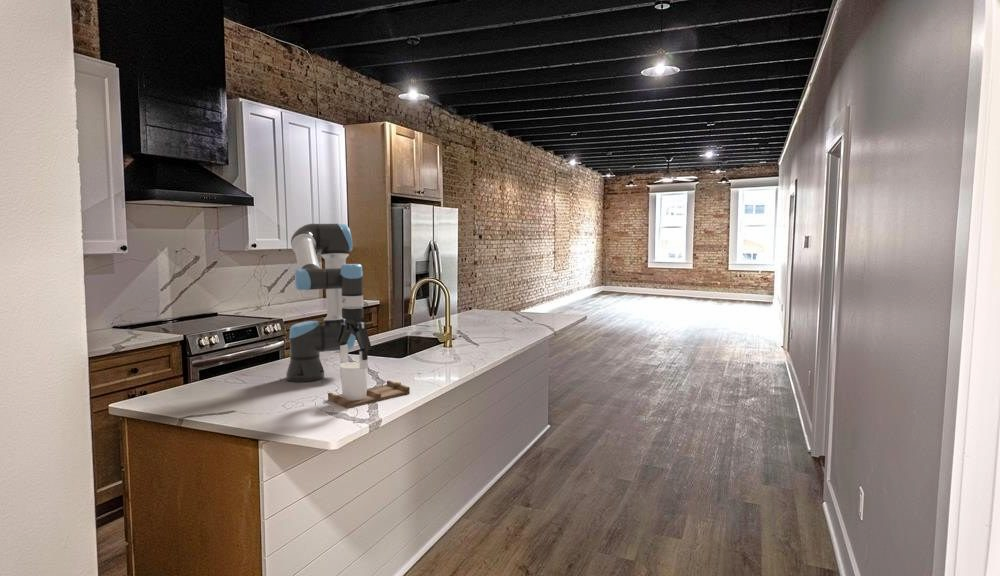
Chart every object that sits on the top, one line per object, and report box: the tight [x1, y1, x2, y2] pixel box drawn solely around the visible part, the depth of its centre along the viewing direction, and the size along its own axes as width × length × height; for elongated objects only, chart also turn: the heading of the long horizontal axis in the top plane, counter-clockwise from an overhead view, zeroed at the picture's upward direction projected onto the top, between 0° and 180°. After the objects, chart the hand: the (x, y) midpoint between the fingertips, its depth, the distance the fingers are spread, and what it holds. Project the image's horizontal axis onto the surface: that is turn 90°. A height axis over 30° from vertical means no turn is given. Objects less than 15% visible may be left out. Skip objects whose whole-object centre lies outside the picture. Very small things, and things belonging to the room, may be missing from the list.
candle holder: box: [339, 361, 369, 401], centre depth 205 cm, size 10×10×12 cm
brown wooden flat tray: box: [327, 380, 411, 409], centre depth 210 cm, size 14×27×3 cm, turn 134°
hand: (353, 365), depth 205 cm, fingers open, 13 cm apart
